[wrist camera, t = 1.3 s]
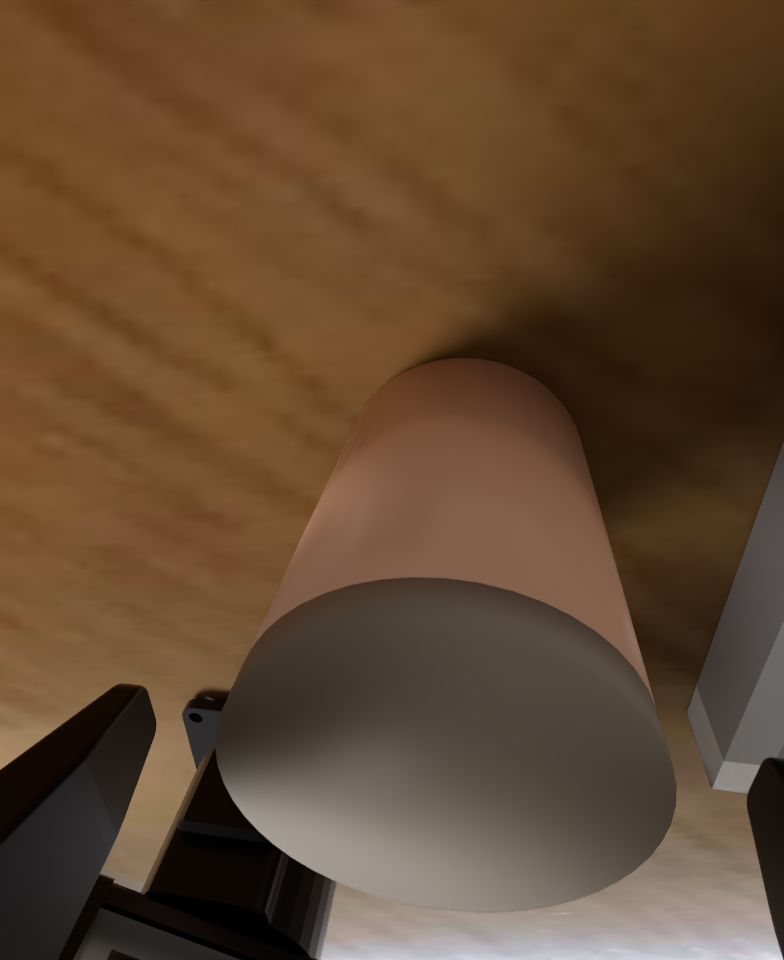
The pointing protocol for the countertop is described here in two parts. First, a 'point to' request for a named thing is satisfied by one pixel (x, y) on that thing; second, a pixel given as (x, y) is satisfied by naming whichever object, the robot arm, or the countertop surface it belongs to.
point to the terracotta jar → (453, 663)
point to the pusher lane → (747, 658)
